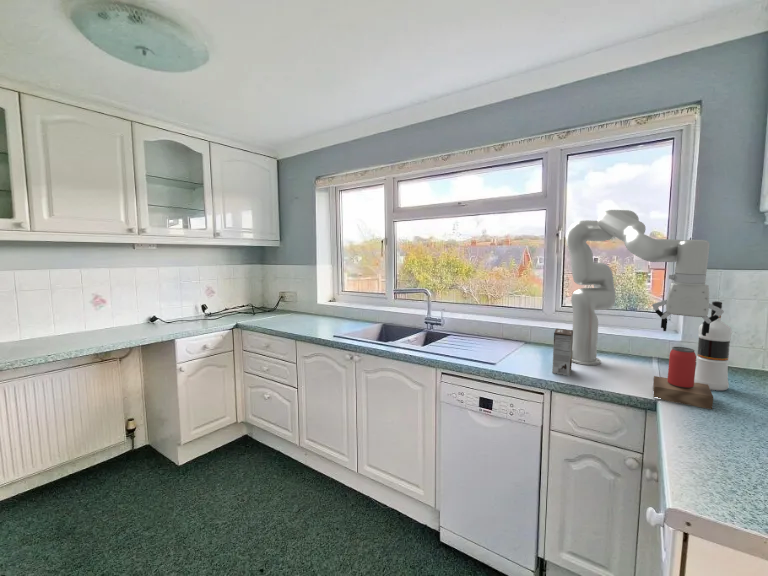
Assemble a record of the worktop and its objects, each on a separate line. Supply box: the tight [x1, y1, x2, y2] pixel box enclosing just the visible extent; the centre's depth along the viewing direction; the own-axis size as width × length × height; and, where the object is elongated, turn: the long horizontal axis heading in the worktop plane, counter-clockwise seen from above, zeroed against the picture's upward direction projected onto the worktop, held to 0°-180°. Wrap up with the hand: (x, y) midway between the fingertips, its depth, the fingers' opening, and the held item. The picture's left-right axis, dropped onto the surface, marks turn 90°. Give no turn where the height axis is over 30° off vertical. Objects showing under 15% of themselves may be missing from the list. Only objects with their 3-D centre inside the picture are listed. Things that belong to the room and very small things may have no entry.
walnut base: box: [652, 375, 714, 410], centre depth 116 cm, size 14×12×4 cm
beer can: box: [667, 346, 697, 388], centre depth 115 cm, size 7×7×12 cm
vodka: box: [694, 300, 733, 392], centre depth 124 cm, size 9×9×30 cm
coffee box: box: [552, 328, 573, 376], centre depth 141 cm, size 9×6×16 cm
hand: (683, 332), depth 114 cm, fingers open, 9 cm apart
